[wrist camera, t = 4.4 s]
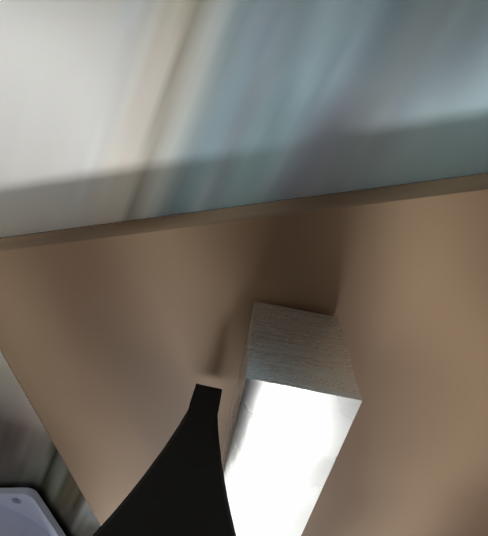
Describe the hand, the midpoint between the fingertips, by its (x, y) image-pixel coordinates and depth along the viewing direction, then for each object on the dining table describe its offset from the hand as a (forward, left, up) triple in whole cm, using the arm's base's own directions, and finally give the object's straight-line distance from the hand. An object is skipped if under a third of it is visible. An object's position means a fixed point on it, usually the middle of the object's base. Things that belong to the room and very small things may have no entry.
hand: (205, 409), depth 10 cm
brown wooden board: (+3, -5, -3) cm, 6 cm away
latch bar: (+1, -4, -1) cm, 4 cm away
